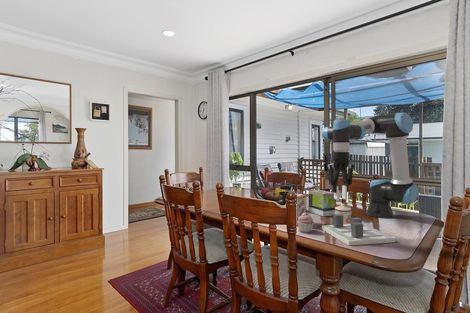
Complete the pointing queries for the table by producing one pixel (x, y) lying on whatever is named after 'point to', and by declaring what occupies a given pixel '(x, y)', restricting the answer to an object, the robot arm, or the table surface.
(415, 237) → the table surface
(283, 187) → the french press
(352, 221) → the block
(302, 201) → the candy bar box
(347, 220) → the teacup with lid
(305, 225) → the cupcake
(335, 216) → the block
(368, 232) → the panel
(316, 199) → the tea box
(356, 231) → the block
